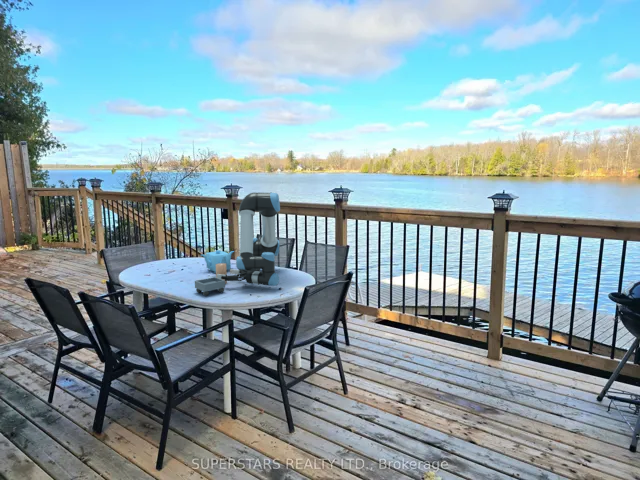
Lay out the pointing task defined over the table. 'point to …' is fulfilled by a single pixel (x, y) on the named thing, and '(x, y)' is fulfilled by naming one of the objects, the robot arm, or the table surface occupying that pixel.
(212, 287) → the caster cart
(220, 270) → the canister
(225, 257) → the teakettle
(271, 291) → the table surface
